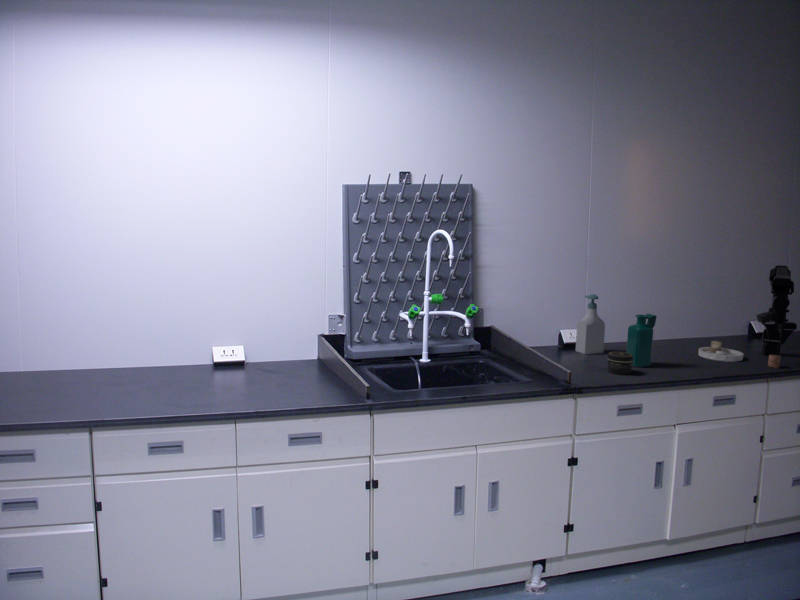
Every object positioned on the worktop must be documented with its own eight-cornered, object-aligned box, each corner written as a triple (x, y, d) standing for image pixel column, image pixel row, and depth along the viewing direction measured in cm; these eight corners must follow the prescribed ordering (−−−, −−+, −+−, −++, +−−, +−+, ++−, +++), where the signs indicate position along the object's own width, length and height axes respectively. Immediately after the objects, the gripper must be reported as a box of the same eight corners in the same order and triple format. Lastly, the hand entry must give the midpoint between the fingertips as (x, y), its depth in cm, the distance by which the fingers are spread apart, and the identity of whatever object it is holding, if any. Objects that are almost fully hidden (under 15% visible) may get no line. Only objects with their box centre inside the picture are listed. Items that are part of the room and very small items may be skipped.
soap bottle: (591, 349, 301) (595, 292, 297) (603, 352, 294) (607, 294, 290) (572, 350, 297) (576, 293, 293) (584, 354, 289) (588, 295, 285)
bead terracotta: (775, 365, 275) (777, 354, 275) (781, 368, 271) (782, 357, 270) (765, 365, 275) (766, 354, 275) (771, 368, 271) (772, 356, 270)
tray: (730, 353, 299) (731, 347, 299) (750, 362, 281) (751, 356, 281) (691, 351, 300) (692, 346, 299) (709, 361, 282) (709, 355, 281)
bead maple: (722, 353, 293) (723, 342, 292) (712, 352, 293) (713, 342, 292) (718, 351, 297) (719, 340, 297) (708, 350, 297) (709, 340, 297)
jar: (611, 367, 265) (613, 350, 264) (635, 372, 259) (637, 354, 258) (602, 372, 258) (604, 354, 257) (627, 376, 251) (628, 358, 250)
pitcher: (635, 367, 267) (639, 316, 263) (623, 362, 275) (627, 313, 271) (655, 366, 269) (659, 316, 266) (642, 361, 277) (646, 312, 274)
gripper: (749, 302, 279) (745, 337, 281) (772, 309, 261) (768, 346, 263) (774, 303, 279) (771, 338, 281) (799, 310, 260) (795, 347, 262)
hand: (775, 342), depth 272 cm, fingers open, 9 cm apart
